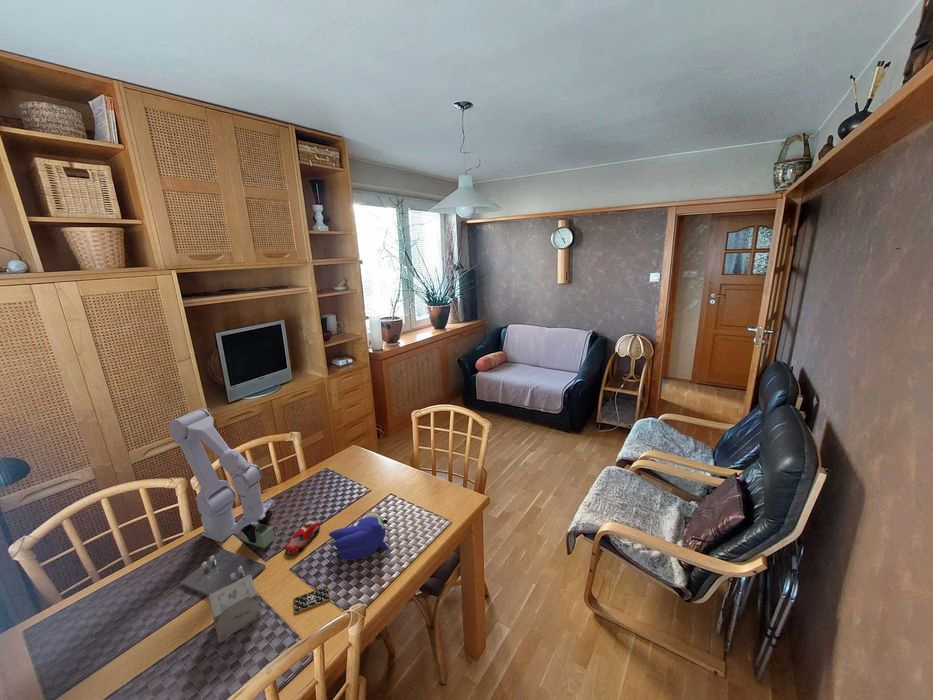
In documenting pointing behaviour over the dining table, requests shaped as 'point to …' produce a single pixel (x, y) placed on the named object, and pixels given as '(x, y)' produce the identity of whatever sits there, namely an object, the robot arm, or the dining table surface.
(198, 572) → the chassis
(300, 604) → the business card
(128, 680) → the dining table surface
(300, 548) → the race car
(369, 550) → the toy
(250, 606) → the grey box
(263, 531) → the green box
